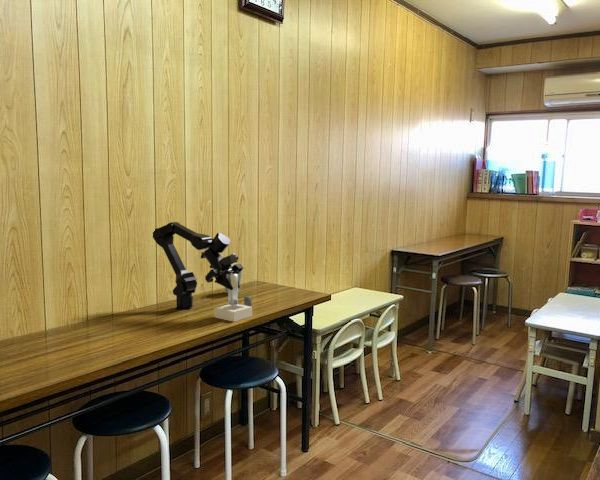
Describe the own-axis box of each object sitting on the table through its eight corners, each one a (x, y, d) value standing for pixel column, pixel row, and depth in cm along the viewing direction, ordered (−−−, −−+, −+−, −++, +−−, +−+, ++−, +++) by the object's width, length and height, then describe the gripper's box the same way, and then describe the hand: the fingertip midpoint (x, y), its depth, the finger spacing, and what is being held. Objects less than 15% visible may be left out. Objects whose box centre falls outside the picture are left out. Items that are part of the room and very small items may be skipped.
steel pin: (230, 305, 218) (229, 275, 217) (227, 303, 222) (227, 273, 220) (239, 304, 220) (239, 274, 218) (236, 302, 223) (236, 273, 222)
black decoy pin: (243, 311, 231) (243, 297, 230) (244, 309, 234) (244, 296, 233) (251, 311, 231) (250, 297, 230) (252, 309, 234) (252, 296, 233)
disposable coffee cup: (235, 289, 275) (235, 261, 273) (247, 293, 267) (247, 263, 265) (218, 292, 268) (217, 263, 267) (229, 296, 260) (229, 266, 258)
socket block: (234, 321, 214) (234, 312, 213) (214, 317, 220) (214, 308, 220) (252, 316, 223) (252, 306, 222) (233, 312, 229) (232, 303, 229)
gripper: (210, 250, 212) (231, 280, 208) (240, 245, 228) (260, 273, 223) (196, 267, 218) (216, 297, 213) (226, 261, 233) (245, 289, 228)
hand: (235, 288), depth 219 cm, fingers closed on steel pin, 4 cm apart
